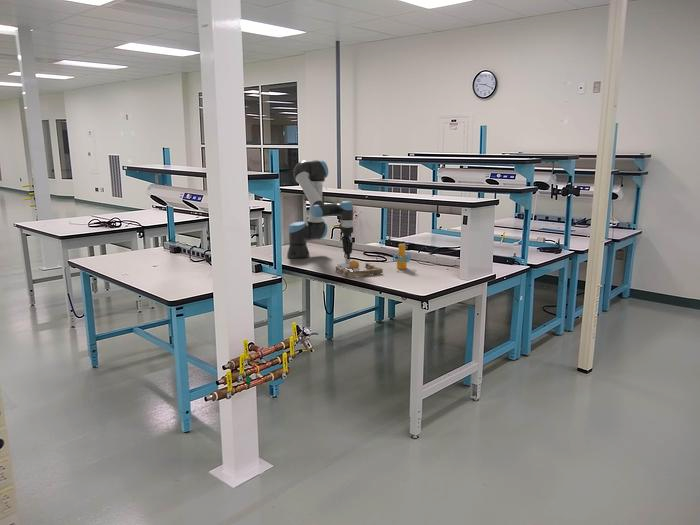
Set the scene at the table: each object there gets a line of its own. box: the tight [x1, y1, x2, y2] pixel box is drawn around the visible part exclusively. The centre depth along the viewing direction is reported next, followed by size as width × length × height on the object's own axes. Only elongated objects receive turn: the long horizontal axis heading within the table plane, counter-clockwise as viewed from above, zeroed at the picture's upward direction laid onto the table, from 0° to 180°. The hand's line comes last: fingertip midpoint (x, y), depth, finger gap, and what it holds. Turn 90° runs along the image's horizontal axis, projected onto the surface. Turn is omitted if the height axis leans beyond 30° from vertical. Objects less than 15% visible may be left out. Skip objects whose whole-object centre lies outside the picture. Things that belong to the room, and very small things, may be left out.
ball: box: [349, 260, 360, 270], centre depth 320 cm, size 6×6×6 cm
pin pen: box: [335, 262, 384, 278], centre depth 315 cm, size 19×22×3 cm
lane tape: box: [336, 262, 361, 270], centre depth 324 cm, size 30×8×1 cm, turn 24°
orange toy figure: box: [392, 243, 412, 270], centre depth 322 cm, size 12×10×15 cm
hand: (347, 263), depth 329 cm, fingers closed
